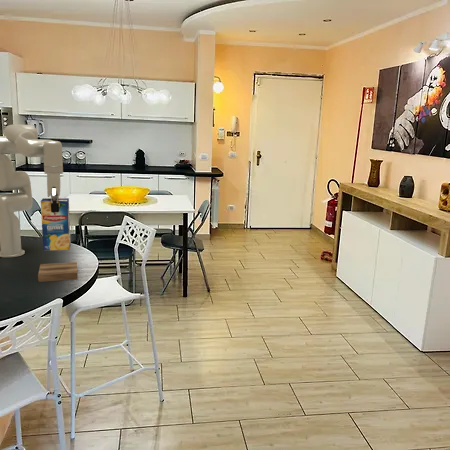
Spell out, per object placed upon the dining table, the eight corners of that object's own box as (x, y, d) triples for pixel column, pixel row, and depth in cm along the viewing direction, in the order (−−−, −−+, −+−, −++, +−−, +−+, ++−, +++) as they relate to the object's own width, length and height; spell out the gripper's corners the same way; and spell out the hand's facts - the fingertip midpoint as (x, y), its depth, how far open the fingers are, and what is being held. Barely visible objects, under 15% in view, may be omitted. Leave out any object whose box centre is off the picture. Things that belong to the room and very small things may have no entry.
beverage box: (69, 249, 194) (67, 200, 190) (43, 250, 192) (40, 201, 187) (70, 245, 201) (68, 198, 196) (45, 246, 198) (42, 198, 193)
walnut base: (40, 270, 204) (40, 264, 203) (77, 268, 209) (76, 262, 208) (38, 281, 189) (37, 275, 188) (77, 279, 194) (77, 272, 193)
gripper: (45, 168, 195) (47, 207, 199) (42, 172, 179) (45, 214, 183) (63, 168, 198) (65, 206, 202) (62, 172, 182) (64, 214, 186)
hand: (55, 210), depth 192 cm, fingers closed on beverage box, 7 cm apart
